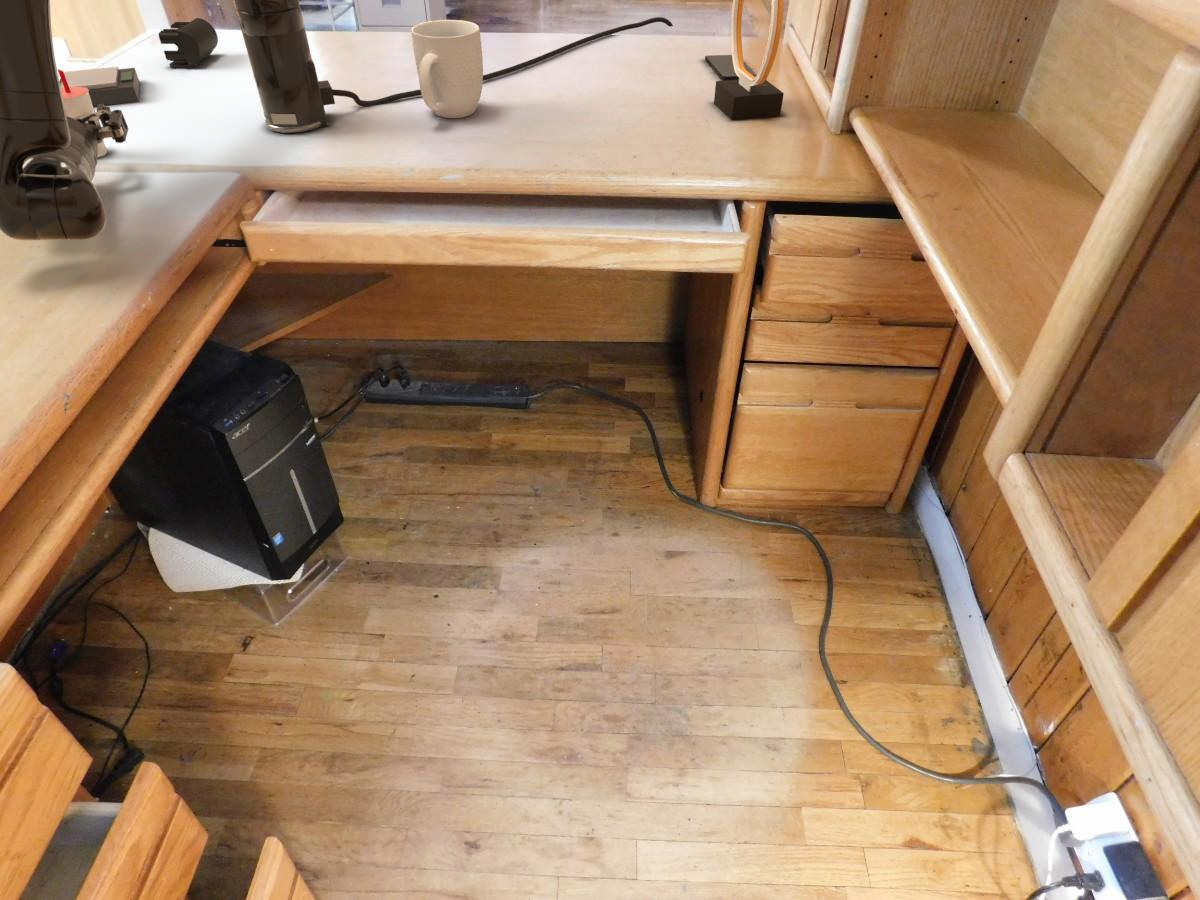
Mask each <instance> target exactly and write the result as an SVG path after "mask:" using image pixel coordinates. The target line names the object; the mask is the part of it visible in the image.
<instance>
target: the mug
mask: <svg viewBox="0 0 1200 900" xmlns="http://www.w3.org/2000/svg"><path fill="white" fill-rule="evenodd" d="M410 29H411V40H412V47H413V55H414V61H415V66H416V72H417V76H418V83H419V84H418V85H419V90H421V94H422V95H421V97H422V100H423V102H424V103H425V105H426V106H427V107H428V108H429V109H431V110H432V111H433V112H434V113H435V114H436V115H437V116H439V117H441V118H445V119H462V118H467V117H469V116H472V115H473V114H474V113H475V112H476V109H477V108H478V105H479V103H480V99H481V96H482V92H483V91H482V90H483V85H484V81H483V75H484V64H483V63H484V59H483V58H484V57H483V47H482V40H481V39H482V38H481V29H480V26H479V25H478V24H476V23H474V22H473V21H467V20H463V19H462V20H460V19H438V20H430V21H429V20H428V21H424V22H420V23H418V24H415V25H414V26H412V27H411V28H410Z"/></svg>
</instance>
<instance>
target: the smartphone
mask: <svg viewBox="0 0 1200 900" xmlns="http://www.w3.org/2000/svg"><path fill="white" fill-rule="evenodd" d="M704 60H705V61H706V63H708V65H709V66H710V67H711V68H712V70H713V71H714V72H715V73H716V74H717V76H718V77H719V78H720V80H721V81H726V80H739V77H738V76H737V75H736V73H735V70H734V66H733V59H732V54H717V55H716V54H715V55H714V54H713V55H712V54H711V55H710V54H709V55H705V56H704ZM743 62H744V67H745V69H746V70H747V71H748V72H749V73H750V74H752V75H753V76H754V77H756V75H757V73H755V72H754V70H753V69H752V68H751V67H750V66H749V65H748V64H747V63H746V62H745V61H744V60H743Z"/></svg>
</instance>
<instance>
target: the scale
mask: <svg viewBox="0 0 1200 900" xmlns="http://www.w3.org/2000/svg"><path fill="white" fill-rule="evenodd" d="M64 75H65V77H66V80H67V83H68V86H69V87H85V88H88V89H89V91H88V92H89V95H90V98H91V102H92V105H93V108H95V107H97V106H98V104H104V106H112V105H120V104H121V105H122V104H128V103H139V101H140V84H141V82H140V79H139V75H138V73H137V70H136V68H135V67H129V68H128V67H127V68H119V66H110V67H100V68H89V69H79V70H70V71H64ZM59 82H60V87H61V89H62V88H64V86H63V83H62V81H61V78H59Z"/></svg>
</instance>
